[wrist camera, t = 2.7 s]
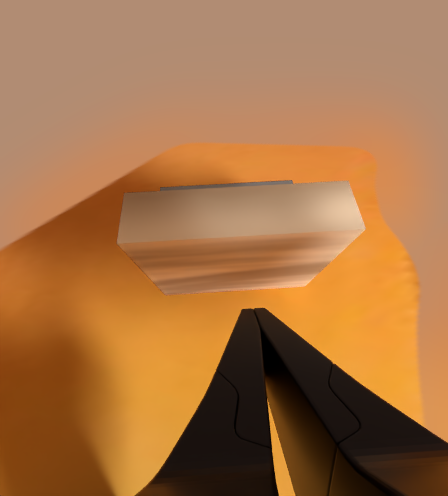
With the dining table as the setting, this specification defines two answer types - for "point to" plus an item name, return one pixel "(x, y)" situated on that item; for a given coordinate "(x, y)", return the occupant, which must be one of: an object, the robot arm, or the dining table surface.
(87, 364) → the dining table surface
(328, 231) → the beige streaked flat block
